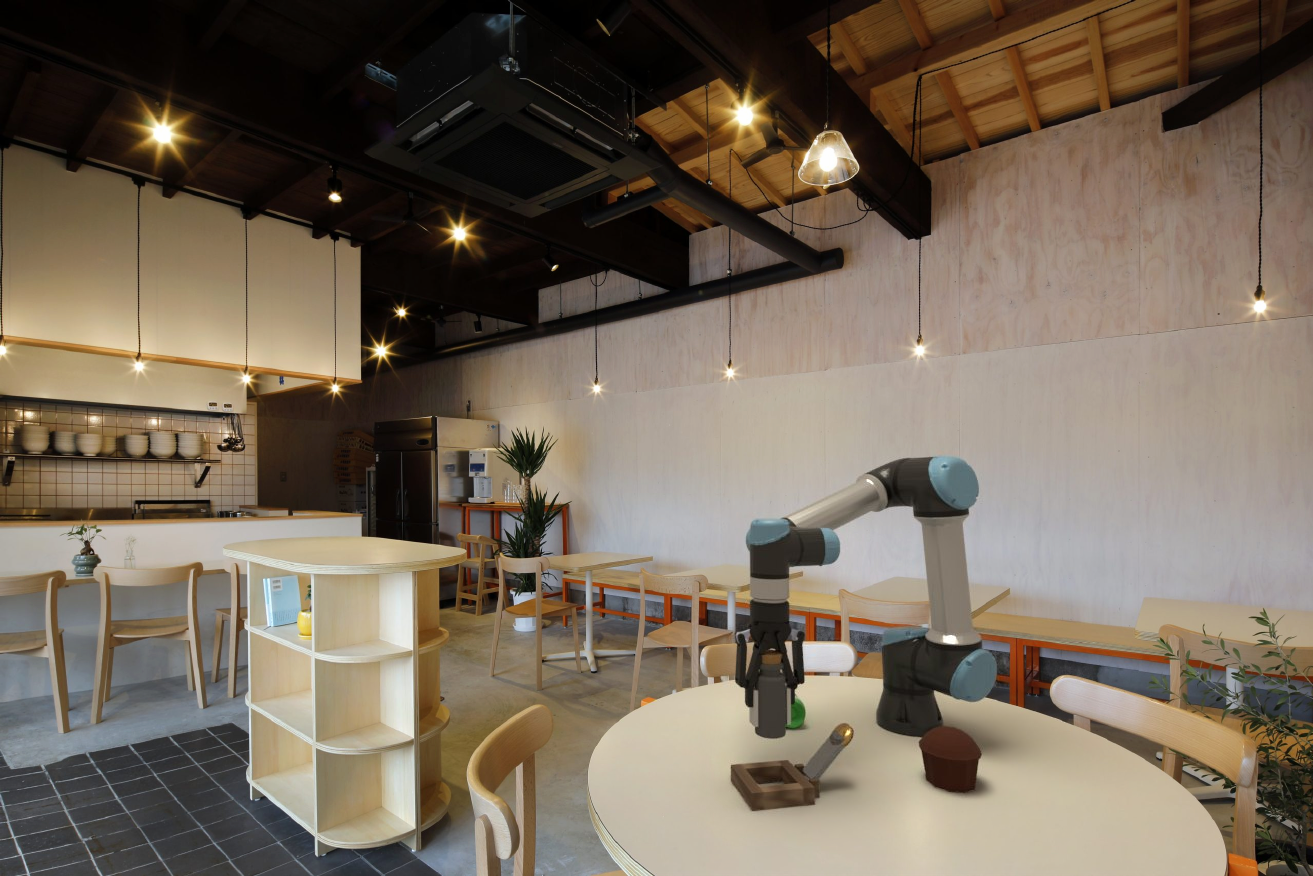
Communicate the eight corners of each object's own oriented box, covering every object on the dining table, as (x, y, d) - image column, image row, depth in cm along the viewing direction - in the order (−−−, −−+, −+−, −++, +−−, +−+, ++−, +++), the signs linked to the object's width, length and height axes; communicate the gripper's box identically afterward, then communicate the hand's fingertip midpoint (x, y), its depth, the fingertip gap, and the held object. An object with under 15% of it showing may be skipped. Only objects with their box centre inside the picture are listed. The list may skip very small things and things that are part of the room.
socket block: (797, 774, 129) (797, 759, 129) (825, 803, 117) (824, 786, 117) (730, 780, 126) (730, 764, 126) (752, 811, 114) (752, 793, 114)
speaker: (808, 731, 152) (807, 698, 153) (777, 731, 152) (777, 698, 153) (790, 705, 170) (790, 676, 170) (763, 706, 170) (763, 676, 170)
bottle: (786, 740, 118) (785, 657, 120) (753, 737, 120) (753, 655, 121) (786, 728, 124) (785, 649, 125) (755, 726, 125) (755, 647, 127)
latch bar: (845, 723, 128) (841, 719, 128) (858, 732, 123) (854, 728, 123) (801, 777, 125) (797, 773, 125) (812, 788, 120) (808, 785, 120)
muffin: (934, 764, 134) (932, 715, 134) (991, 782, 126) (989, 729, 127) (909, 782, 125) (908, 730, 126) (969, 803, 118) (967, 746, 118)
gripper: (806, 594, 130) (807, 713, 128) (716, 597, 126) (716, 719, 124) (823, 601, 122) (825, 727, 120) (728, 604, 118) (729, 734, 117)
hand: (770, 722), depth 122 cm, fingers closed on bottle, 6 cm apart
